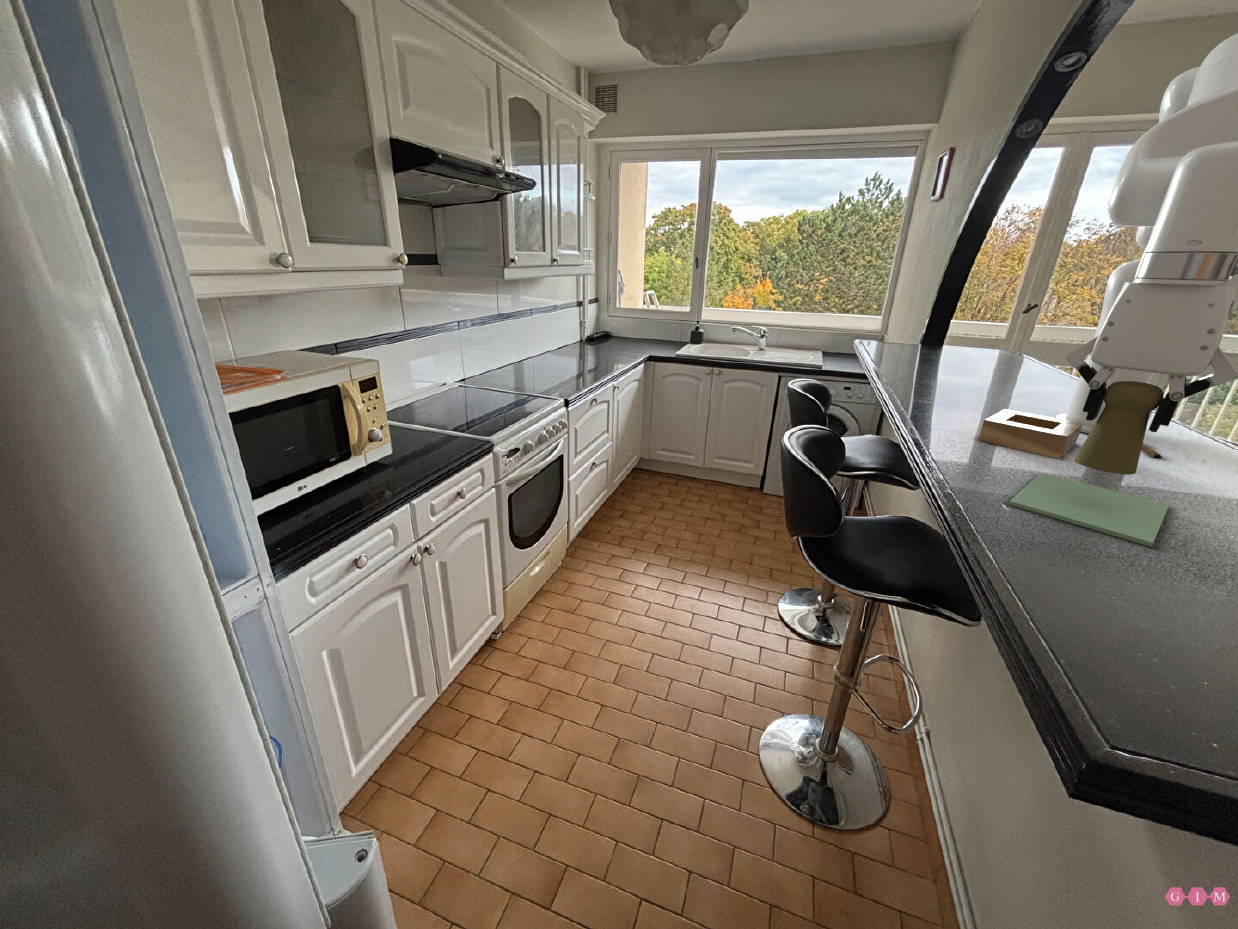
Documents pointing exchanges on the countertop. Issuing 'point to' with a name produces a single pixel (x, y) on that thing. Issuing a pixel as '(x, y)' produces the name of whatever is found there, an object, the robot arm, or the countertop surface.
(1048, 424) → the holder
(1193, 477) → the countertop surface
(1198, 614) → the countertop surface
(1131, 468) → the cork
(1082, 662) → the countertop surface
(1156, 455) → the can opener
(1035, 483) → the mat
